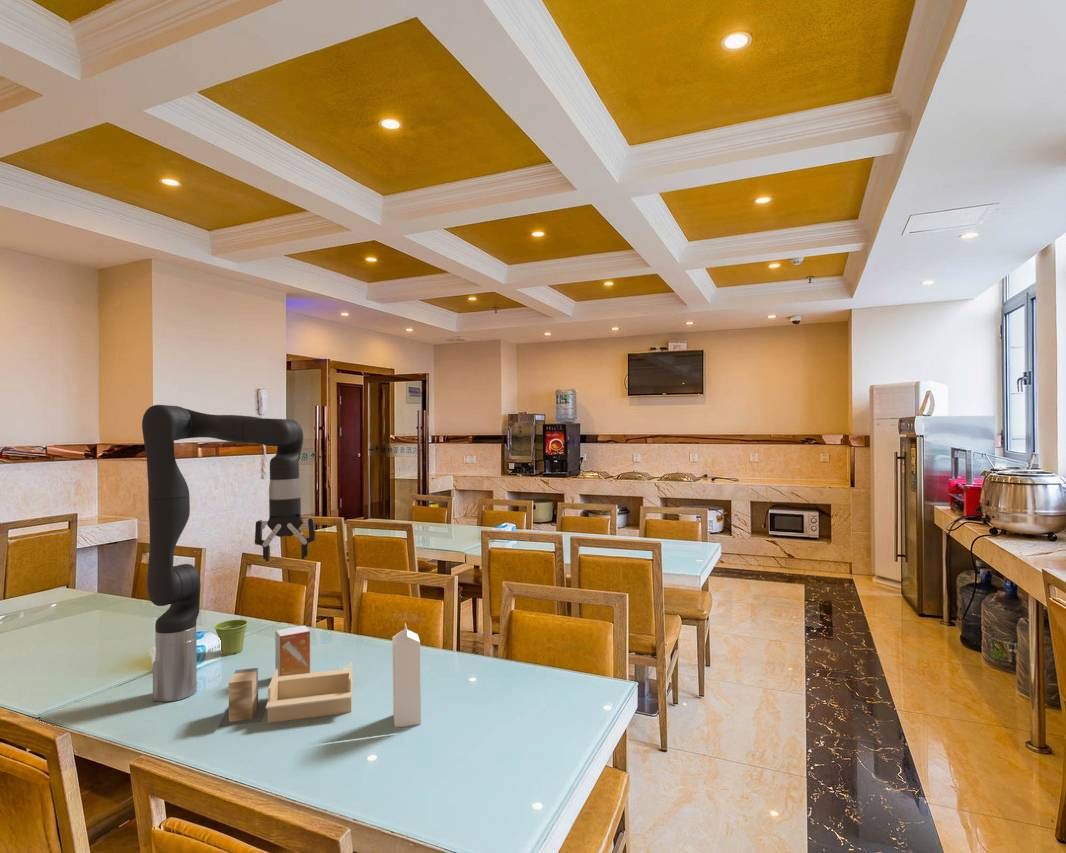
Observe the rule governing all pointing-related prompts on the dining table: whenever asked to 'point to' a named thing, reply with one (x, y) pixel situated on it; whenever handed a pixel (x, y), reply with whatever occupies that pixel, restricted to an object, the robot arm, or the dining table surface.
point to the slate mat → (256, 718)
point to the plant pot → (231, 635)
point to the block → (243, 694)
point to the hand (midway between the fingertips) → (286, 559)
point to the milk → (406, 679)
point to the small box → (292, 651)
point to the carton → (310, 694)
